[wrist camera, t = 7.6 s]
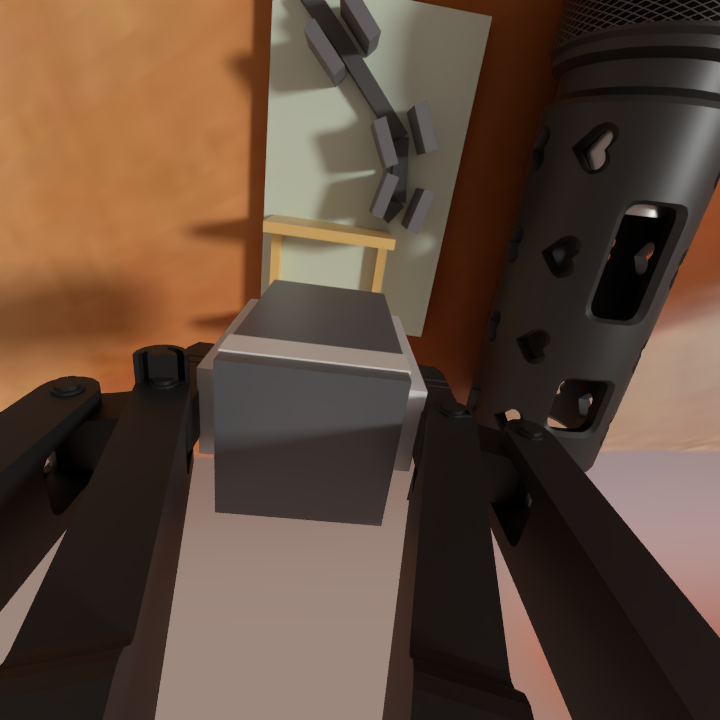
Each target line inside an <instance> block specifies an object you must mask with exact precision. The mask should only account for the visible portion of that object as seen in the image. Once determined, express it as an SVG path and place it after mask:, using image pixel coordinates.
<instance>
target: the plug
mask: <svg viewBox="0 0 720 720" xmlns="http://www.w3.org/2000/svg"><path fill="white" fill-rule="evenodd" d="M410 374H411V369H410V366H409V363H408V360H407V357H406V355H404V354H403V353H402V349H401V346H400V343H399V340H398V337H397V333H396V330H395V327H394V324H393V320H392V317H391V314H390V311H389V308H388V304H387V301H386V298H385V295H384V293H376V292H369V291H361V290H353V289H345V288H338V287H330V286H322V285H314V284H307V283H299V282H291V281H284V280H276V279H274V281H273V282H272V283H271V285H270V286H269V287H268V289H267V290H266V291H265V293H264V294H263V295H262V297H261V298H260V299H259V300H258V302H257V303H256V304H255V306H254V307H253V308H252V310H251V311H250V312H249V314H248V315H247V316H246V318H245V319H244V320H243V321H242V323H241V324H240V325H239V327H238V328H237V329H236V331H235V332H234V333H233V334H229V335H228V336H227V338H226V339H225V340H224V342H223V343H222V344H221V345H220V347H219V348H218V354H217V356H216V357H215V358H214V359H213V378H214V459H215V512H219V513H232V514H244V515H255V516H267V517H279V518H291V519H305V520H315V521H327V522H340V523H351V524H364V525H375V526H381V524H382V519H383V514H384V510H385V505H386V500H387V496H388V491H389V486H390V481H391V477H392V472H393V468H394V463H395V458H396V453H397V449H398V444H399V439H400V435H401V430H402V425H403V421H404V416H405V411H406V406H407V402H408V397H409V392H410V388H411V383H412V381H411V378H410Z"/></svg>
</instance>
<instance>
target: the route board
mask: <svg viewBox="0 0 720 720" xmlns="http://www.w3.org/2000/svg"><path fill="white" fill-rule="evenodd" d="M325 1H326V2H327V4H328V5H329V7H330V8H331V10H332V11H333V13H334V14H335V16H336V17H337V19H338V20H339V22H340V23H341V25H342V26H343V28H344V29H345V31H346V32H347V34H348V35H349V37H350V38H351V40H352V42H353V43H354V45H355V47H356V48H357V50H358V52H359V53H360V55H361V57H362V58H363V60H364V62H365V63H366V65H367V67H368V68H369V70H370V71H371V73H372V75H373V76H374V78H375V80H376V81H377V83H378V85H379V86H380V88H381V90H382V91H383V93H384V95H385V96H386V98H387V100H388V101H389V103H390V104H391V106H392V108H393V109H394V111H395V113H396V114H397V116H398V118H399V119H400V121H401V123H402V124H403V126H404V128H405V129H406V131H407V133H408V134H406V135H405V136H404V137H409V149H408V170H407V192H406V203H401V204H402V206H403V207H404V208H403V209H402V210H401V211H400V212H399V213H398V214H397V215H396V216H395V217H394V218H393V219H392V220H391V221H390V223H389V224H388V223H387V222H386V221H385V220H384V219H383V216H384V214H385V211H386V209H387V206H388V204H389V202H390V199H391V197H392V194H393V192H394V189H395V187H396V184H397V182H398V179H399V177H397V176H394V175H392V174H391V166H393V165H396V164H398V160H397V156H396V152H395V149H394V145H393V141H392V137H391V134H390V130H389V126H388V122H387V119H386V116H385V117H382V118H379V119H377V117H376V115H375V114H374V112H373V111H372V109H371V107H370V106H369V104H368V103H367V101H366V99H365V98H364V96H363V95H362V93H361V91H360V90H359V88H358V87H357V85H356V83H355V82H354V80H353V79H352V77H351V75H350V74H349V72H348V71H347V69H346V68H345V65H344V63H343V62H342V60H341V59H340V57H339V56H338V54H337V53H336V51H335V49H334V48H333V46H332V45H331V43H330V42H329V40H328V39H327V37H326V36H325V34H324V32H323V31H322V29H321V28H320V26H319V25H318V23H317V22H316V20H315V19H313V18H312V17H311V15H310V14H309V12H308V11H307V10H306V8H305V7H304V5H303V4H302V2H301V1H300V0H272V24H271V49H270V74H269V99H268V124H267V149H266V173H265V198H264V220H265V219H267V218H269V217H271V216H272V215H274V214H277V215H284V216H290V217H297V218H304V219H311V220H318V221H324V222H331V223H338V224H345V225H352V226H359V227H365V228H372V229H379V230H386V231H390V233H391V234H392V235H393V237H394V238H395V239H396V242H395V248H394V250H387V256H386V262H385V268H384V274H383V280H382V286H381V292H380V293H384V295H385V298H386V301H387V304H388V308H389V311H390V314H391V315H393V316H399V319H400V321H401V324H402V327H403V329H404V332H405V334H406V335H409V336H417V337H421V335H422V331H423V326H424V322H425V317H426V313H427V308H428V304H429V299H430V295H431V290H432V286H433V281H434V277H435V272H436V268H437V263H438V259H439V254H440V250H441V245H442V241H443V236H444V232H445V227H446V223H447V218H448V214H449V209H450V205H451V200H452V196H453V191H454V187H455V182H456V178H457V173H458V169H459V164H460V160H461V155H462V151H463V146H464V142H465V137H466V133H467V128H468V124H469V119H470V115H471V110H472V106H473V101H474V97H475V92H476V88H477V83H478V79H479V74H480V70H481V65H482V61H483V56H484V52H485V47H486V43H487V38H488V34H489V29H490V25H491V20H492V16H487V15H482V14H477V13H472V12H467V11H462V10H457V9H452V8H447V7H442V6H437V5H432V4H427V3H422V2H417V1H412V0H325ZM271 240H272V233H268V232H263V248H262V273H261V297H262V295H263V294H264V293H265V291H266V290H267V289H268V287H269V281H270V260H271ZM376 254H377V248H374V247H367V246H360V245H353V244H346V243H338V242H331V241H324V240H317V239H310V238H303V237H296V236H289V235H283V241H282V257H281V274H280V280H284V281H291V282H299V283H307V284H314V285H322V286H330V287H338V288H345V289H353V290H361V291H369V292H371V286H372V280H373V273H374V267H375V261H376Z"/></svg>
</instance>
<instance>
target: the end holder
mask: <svg viewBox="0 0 720 720" xmlns="http://www.w3.org/2000/svg"><path fill="white" fill-rule="evenodd" d="M263 232H268V233H272V240H271V260H270V281H269V286H270V285H271V283H272V282H273V281H274V279H276V280H280V274H281V257H282V241H283V235H289V236H296V237H303V238H310V239H317V240H324V241H331V242H338V243H346V244H353V245H360V246H367V247H374V248H377V254H376V261H375V267H374V273H373V280H372V286H371V292H376V293H380V292H381V286H382V280H383V274H384V268H385V262H386V256H387V250H394V248H395V242H396V239H395V238H394V237H393V235H392V234H391V233H390V231H386V230H379V229H372V228H365V227H359V226H352V225H345V224H338V223H331V222H324V221H318V220H311V219H304V218H297V217H290V216H284V215H277V214H274V215H272V216H271V217H269V218H267V219H265V220H264V221H263Z"/></svg>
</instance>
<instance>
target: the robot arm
mask: <svg viewBox="0 0 720 720" xmlns="http://www.w3.org/2000/svg"><path fill="white" fill-rule="evenodd" d="M258 300H259V299H252V298H251V299H250V300H249V301H248V303H247V304H246V305H245V307H244V308H243V309H242V310H241V312H240V313H239V314H238V315H237V317H236V318H235V319H234V321H233V322H232V323H231V324H230V326H229V327H228V328H227V329H226V331H225V332H224V333H223V335H222V336H221V337H220V338H219V340H218V341H217V342H216V343H215V344H212V343H203V342H198V343H196V344H194V345H192V346H189V347H188V348H187V349H184V348H182V347H179V346H175V345H153V346H148V347H144V348H141V349H139V350H137V351H136V352H135V353H133V354H132V355H133V364H134V374H135V385H134V387H133V390H132V391H129V392H118V393H102V394H101V390H100V385H99V382H98V381H96V380H95V379H93V378H88V377H76V376H68V377H61V378H58V379H56V380H52V381H49V382H47V383H45V384H43V385H41V386H39V387H37V388H36V389H35V390H33V391H32V392H30V393H29V394H27V395H26V396H24V397H23V398H21V399H20V400H18V401H17V402H15V403H14V404H12V405H11V406H9V407H8V408H6V409H5V410H3V411H2V412H0V611H1V610H2V609H3V608H4V606H5V605H6V604H7V603H8V601H9V600H10V599H11V598H12V596H13V595H14V594H15V593H16V592H17V590H18V589H19V588H20V587H21V585H22V584H23V583H24V582H25V580H26V579H27V578H28V577H29V575H30V574H31V573H32V572H33V570H34V569H35V568H36V567H37V565H38V564H39V563H40V562H41V560H42V559H43V558H44V557H45V555H46V554H47V553H48V552H49V550H50V549H51V548H52V546H53V545H54V544H55V543H56V542H57V540H58V539H59V538H60V537H61V536H62V534H63V533H64V532H65V531H66V533H65V535H64V537H63V539H62V541H61V543H60V545H59V548H58V549H57V552H56V554H55V556H54V558H53V560H52V562H51V564H50V567H49V569H48V571H47V573H46V575H45V577H44V579H43V581H42V584H41V586H40V588H39V590H38V592H37V594H36V596H35V599H34V601H33V603H32V605H31V607H30V609H29V611H28V613H27V616H26V618H25V620H24V622H23V624H22V626H21V628H20V631H19V633H18V635H17V637H16V639H15V641H14V643H13V646H12V648H11V650H10V652H9V653H8V655H7V657H6V659H5V660H4V662H3V663H2V664H1V665H0V720H154V719H155V713H156V706H157V700H158V693H159V686H160V680H161V673H162V667H163V660H164V653H165V647H166V639H167V634H168V627H169V621H170V614H171V607H172V601H173V594H174V588H175V581H176V574H177V568H178V561H179V554H180V548H181V541H182V535H183V528H184V521H185V515H186V508H187V502H188V495H189V489H190V482H191V475H192V469H193V462H194V457H193V447H194V445H195V443H196V442H197V440H198V438H199V453H204V454H214V378H213V359H214V358H215V357H216V356H217V354H218V348H219V347H220V345H221V344H222V343H223V342H224V340H225V339H226V338H227V336H228V335H229V334H233V333H234V332H235V331H236V329H237V328H238V327H239V325H240V324H241V323H242V321H243V320H244V319H245V318H246V316H247V315H248V314H249V312H250V311H251V310H252V308H253V307H254V306H255V304H256V303H257V302H258ZM391 317H392V320H393V324H394V327H395V330H396V333H397V337H398V340H399V343H400V346H401V349H402V353H403V354H404V355H406V357H407V360H408V363H409V366H410V369H411V374H410V378H411V381H412V383H411V388H410V392H409V397H408V402H407V406H406V411H405V416H404V421H403V425H402V430H401V435H400V439H399V444H398V449H397V453H396V458H395V463H394V468H393V470H399V471H409V469H410V465H411V460H412V457H413V459H414V464H415V468H414V472H413V476H412V480H411V484H410V489H409V493H408V497H407V500H409V506H408V515H407V522H406V530H405V538H404V547H403V555H402V563H401V571H400V579H399V588H398V596H397V604H396V612H395V621H394V628H393V637H392V645H391V653H390V661H389V670H388V677H387V686H386V694H385V702H384V710H383V718H382V720H534V718H533V714H532V710H531V705H530V704H529V701H528V699H527V697H526V695H525V694H524V693H522V692H520V691H518V690H516V689H514V686H513V684H512V682H511V677H510V672H509V665H508V657H507V649H506V643H505V634H504V627H503V619H502V611H501V604H500V596H499V588H498V581H497V574H496V565H495V558H494V550H493V543H492V535H491V529H492V531H493V534H494V536H495V539H496V541H497V543H498V546H499V548H500V550H501V553H502V555H503V557H504V560H505V562H506V565H507V567H508V569H509V572H510V574H511V576H512V578H513V581H514V583H515V586H516V588H517V590H518V593H519V595H520V598H521V600H522V602H523V605H524V607H525V609H526V612H527V614H528V616H529V619H530V621H531V623H532V626H533V628H534V631H535V633H536V635H537V637H538V639H539V642H540V644H541V647H542V649H543V652H544V654H545V656H546V659H547V661H548V664H549V666H550V668H551V671H552V673H553V675H554V678H555V680H556V682H557V685H558V687H559V690H560V692H561V694H562V696H563V699H564V701H565V704H566V706H567V708H568V711H569V713H570V715H571V717H572V720H720V638H719V637H718V635H717V634H716V633H715V632H714V631H713V629H712V628H711V627H710V626H709V624H708V623H707V622H706V621H705V619H704V618H703V617H702V616H701V614H700V613H699V612H698V611H697V610H696V608H695V607H694V606H693V605H692V603H691V602H690V601H689V600H688V599H687V597H686V596H685V595H684V594H683V593H682V591H681V590H680V589H679V588H678V586H677V585H676V584H675V583H674V582H673V580H672V579H671V578H670V577H669V575H668V574H667V573H666V572H665V571H664V569H663V568H662V567H661V566H660V564H658V562H657V561H656V560H655V558H654V557H653V556H652V555H651V553H650V552H649V551H648V550H647V549H646V547H645V546H644V545H643V544H642V543H641V542H640V540H639V539H638V538H637V536H636V535H635V534H634V533H633V532H632V530H631V529H630V528H629V527H628V525H627V524H626V523H625V522H624V521H623V520H622V518H621V517H620V516H619V514H618V513H617V512H616V511H615V510H614V508H613V507H612V506H611V505H610V503H609V502H608V501H607V500H606V499H605V497H604V496H603V495H602V494H601V493H600V491H599V490H598V489H597V488H596V487H595V485H594V484H593V483H592V482H591V480H590V479H589V478H588V477H587V475H586V474H585V473H584V472H583V471H582V469H581V468H580V467H579V466H578V464H577V463H576V462H575V461H574V460H573V458H572V457H571V456H570V455H569V454H568V452H567V451H566V450H565V449H564V447H563V446H562V445H561V444H560V443H559V441H558V440H557V439H556V438H555V436H554V435H553V434H552V433H551V432H549V431H548V430H547V429H546V428H544V427H542V426H540V425H539V424H538V423H535V422H534V423H533V422H532V421H529V420H521V419H512V420H510V421H507V423H506V425H505V427H504V430H503V431H500V430H496V429H493V428H489V427H486V426H483V425H480V424H478V423H477V421H476V416H475V414H474V412H473V411H472V410H471V409H469V408H468V407H466V406H464V405H463V404H461V403H457V402H456V400H455V398H454V396H453V394H452V392H451V390H450V389H449V385H448V383H446V379H445V377H444V375H443V374H442V373H441V372H440V371H438V370H437V369H436V368H435V367H430V366H421V365H417V363H416V360H415V358H414V355H413V353H412V350H411V347H410V345H409V342H408V340H407V337H406V334H405V332H404V329H403V327H402V324H401V321H400V319H399V316H393V315H391ZM47 458H48V459H49V463H48V464H47V465H46V466H45V463H46V460H47ZM44 466H45V467H44ZM66 529H67V530H66Z"/></svg>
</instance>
